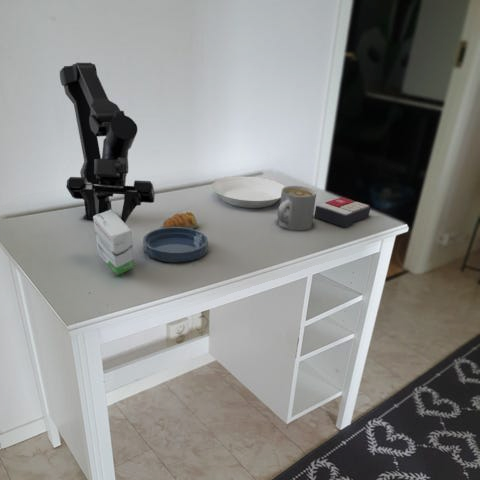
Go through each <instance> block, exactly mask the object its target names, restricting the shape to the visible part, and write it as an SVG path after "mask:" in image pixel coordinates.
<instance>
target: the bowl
mask: <svg viewBox="0 0 480 480" xmlns="http://www.w3.org/2000/svg"><path fill="white" fill-rule="evenodd" d="M284 187H286V186H285V184H282V183H280V182H278V181H275V180H272V179H269V178H263V177H257V176H228V177H223V178H220V179H217V180H215V181H214V182H212V184H211V189H212V191H213V192H215V193H216V194H217V195H218V196H219V197H220V199H222V200H223V202H225V203H226V204H228V205H231V206H235V207H237V208H238V207H239V208H248V209H261V208H266V207H267V208H268V207H270V206H273V205H274V204H275V203H277V202H278V201H279V200H281V192H282V189H283V188H284Z"/></svg>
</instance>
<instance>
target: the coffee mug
mask: <svg viewBox="0 0 480 480" xmlns="http://www.w3.org/2000/svg"><path fill="white" fill-rule="evenodd" d="M316 199H317V191H316V190H315V189H313V188H312V187H308V186H303V185H287V186H285V187H284V188H283V189H282V192H281V198H280V203H279V207H278V210H277V218H278V222H277V223H278V225H279V226H280V227H281V228H283V229H286V230H291V231H306V230H310V229H311V228H312V227H313V226H312V225H313V219H314V214H315V207H316Z"/></svg>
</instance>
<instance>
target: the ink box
mask: <svg viewBox="0 0 480 480" xmlns="http://www.w3.org/2000/svg"><path fill="white" fill-rule="evenodd" d="M93 220H94V221H93ZM93 220H92V221H93V226H94V232H95V240H96V246H97V254H98V255H99V256H100V258H101V259H102V260H103V261H104V262H105V263H106V264H107V266H109V267H110V269H111V270H112V271H113V272H114V273H115V274H116V275H117V276H120V275H122V274H124V273H125V272H128V271H129V270H132V269H133V268H135V259H134V246H133V235H132V234H133V233H132V229H131V228H130V227H129V226H128V225H127V224H126V222H125V223H124V222H123V221H122V220H121V217H120V216H119V215H118V214H117V213H116V212H115V211H114V210H113V209H111V210H108V211H106V212H103V213H100V214H97V215H95V216H93Z"/></svg>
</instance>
